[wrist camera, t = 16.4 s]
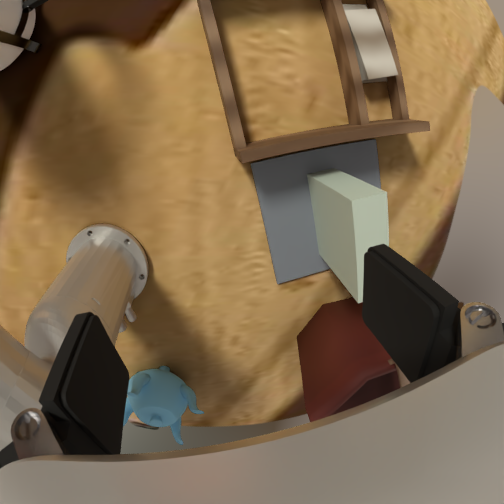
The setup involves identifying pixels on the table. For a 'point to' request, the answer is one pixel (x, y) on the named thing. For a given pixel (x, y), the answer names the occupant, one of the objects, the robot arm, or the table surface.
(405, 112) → the rack
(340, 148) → the mat
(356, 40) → the offcut upper
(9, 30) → the coffee press
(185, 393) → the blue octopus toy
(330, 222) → the pale green block
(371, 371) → the bucket
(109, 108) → the table surface
